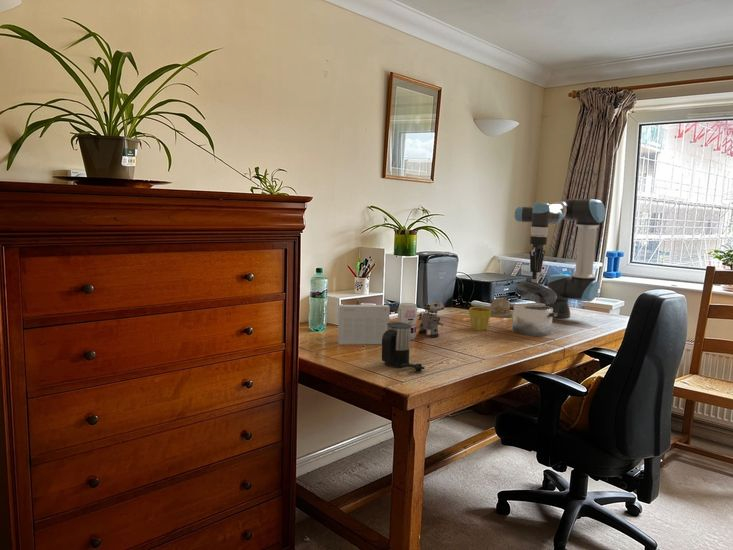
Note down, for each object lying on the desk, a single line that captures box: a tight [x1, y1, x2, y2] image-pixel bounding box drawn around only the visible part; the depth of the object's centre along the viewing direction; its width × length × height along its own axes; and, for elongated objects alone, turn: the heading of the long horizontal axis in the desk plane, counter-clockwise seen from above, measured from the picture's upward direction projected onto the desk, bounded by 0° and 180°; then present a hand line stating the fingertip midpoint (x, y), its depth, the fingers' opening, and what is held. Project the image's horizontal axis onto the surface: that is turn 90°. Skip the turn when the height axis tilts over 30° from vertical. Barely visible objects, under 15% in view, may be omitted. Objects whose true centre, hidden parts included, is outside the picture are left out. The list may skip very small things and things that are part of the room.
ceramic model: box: [489, 297, 514, 319], centre depth 304 cm, size 14×11×10 cm
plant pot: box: [468, 306, 492, 331], centre depth 268 cm, size 10×10×10 cm
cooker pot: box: [510, 303, 557, 337], centre depth 267 cm, size 20×22×12 cm
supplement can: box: [397, 302, 418, 341], centre depth 242 cm, size 8×8×15 cm
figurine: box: [417, 300, 445, 338], centre depth 250 cm, size 9×12×15 cm
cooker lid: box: [515, 281, 557, 305], centre depth 267 cm, size 19×19×4 cm
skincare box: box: [337, 304, 391, 345], centre depth 230 cm, size 21×5×16 cm, turn 100°
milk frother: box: [381, 321, 425, 372], centre depth 199 cm, size 14×16×15 cm
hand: (534, 285), depth 263 cm, fingers closed
